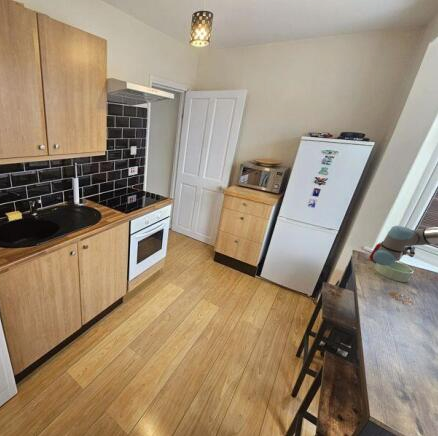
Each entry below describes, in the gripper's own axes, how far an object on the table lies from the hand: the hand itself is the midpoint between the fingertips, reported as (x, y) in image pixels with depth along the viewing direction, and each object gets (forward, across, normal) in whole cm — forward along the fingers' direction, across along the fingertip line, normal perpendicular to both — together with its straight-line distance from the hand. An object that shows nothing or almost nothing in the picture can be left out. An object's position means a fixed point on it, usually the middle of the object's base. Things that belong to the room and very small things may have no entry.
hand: (405, 242), depth 130 cm
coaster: (-28, +12, -20) cm, 36 cm away
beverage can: (+7, -8, -20) cm, 22 cm away
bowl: (-4, +2, -20) cm, 20 cm away
